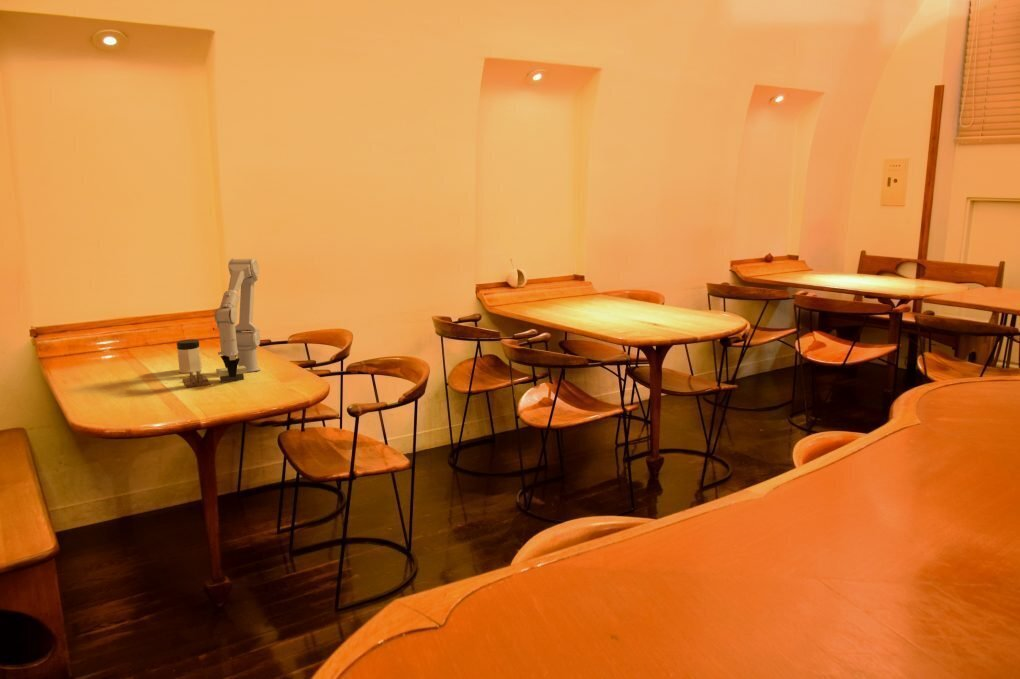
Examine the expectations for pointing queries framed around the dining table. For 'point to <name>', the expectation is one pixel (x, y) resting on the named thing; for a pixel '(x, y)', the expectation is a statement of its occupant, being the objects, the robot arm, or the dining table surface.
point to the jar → (189, 355)
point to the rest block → (231, 378)
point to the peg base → (196, 380)
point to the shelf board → (225, 373)
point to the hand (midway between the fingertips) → (231, 375)
